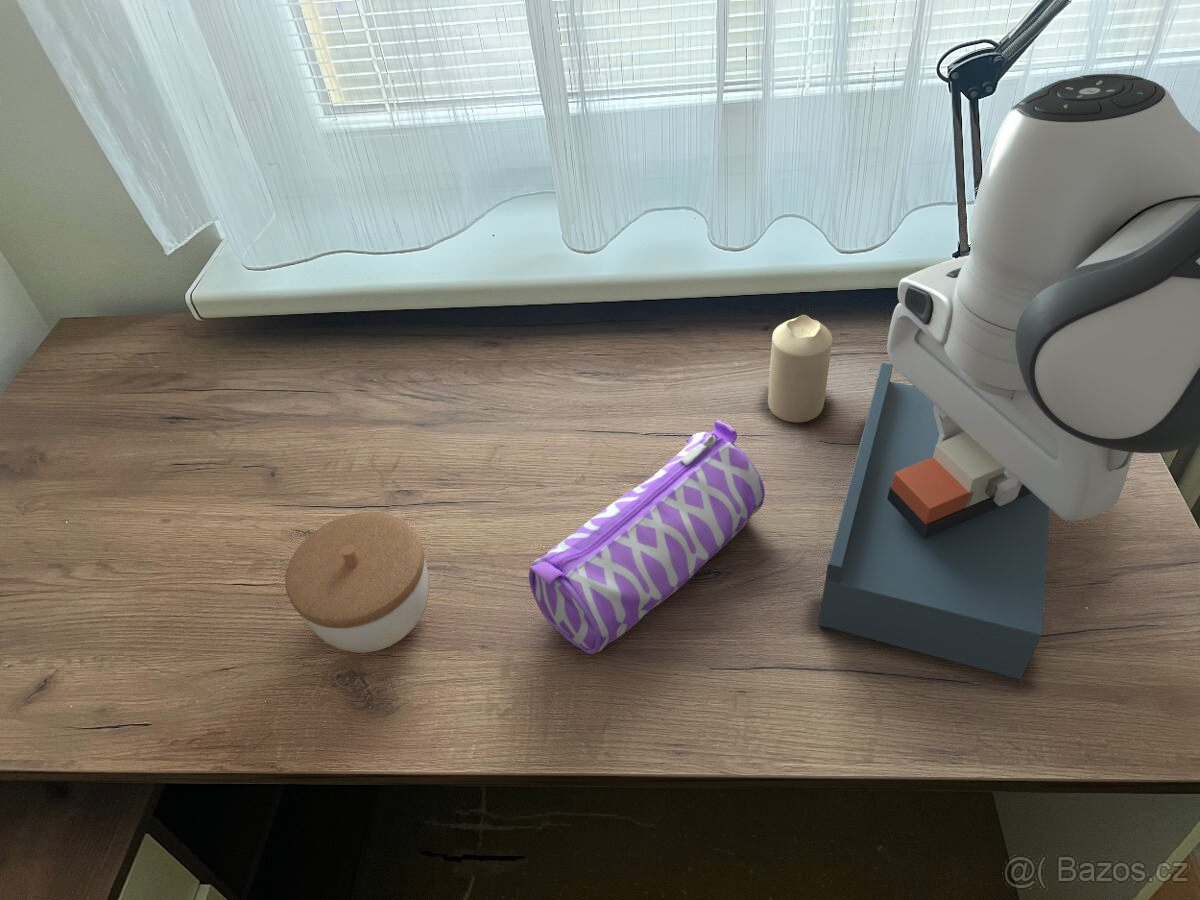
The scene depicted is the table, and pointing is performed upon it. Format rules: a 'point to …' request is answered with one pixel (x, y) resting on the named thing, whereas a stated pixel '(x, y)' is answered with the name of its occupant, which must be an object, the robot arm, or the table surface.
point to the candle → (799, 369)
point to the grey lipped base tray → (933, 555)
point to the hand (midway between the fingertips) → (974, 473)
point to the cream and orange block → (947, 486)
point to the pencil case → (647, 541)
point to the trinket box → (360, 581)
